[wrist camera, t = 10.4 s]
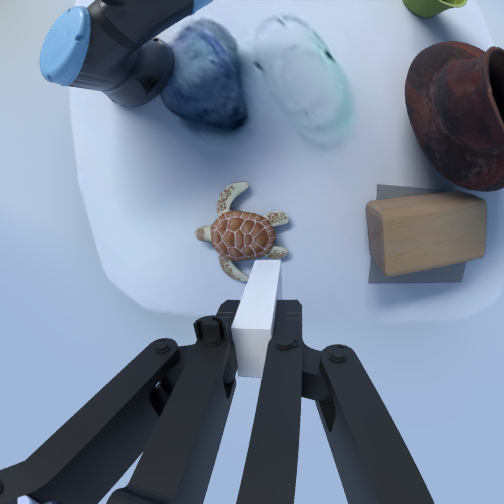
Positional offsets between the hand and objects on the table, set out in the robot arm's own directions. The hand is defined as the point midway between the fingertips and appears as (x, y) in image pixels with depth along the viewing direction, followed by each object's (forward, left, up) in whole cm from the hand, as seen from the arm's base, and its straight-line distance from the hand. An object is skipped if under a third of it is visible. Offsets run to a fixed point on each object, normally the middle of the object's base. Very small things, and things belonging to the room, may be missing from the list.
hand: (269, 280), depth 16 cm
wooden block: (+5, +14, -26) cm, 30 cm away
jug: (-17, +31, -31) cm, 47 cm away
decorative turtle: (+6, -8, -32) cm, 33 cm away
